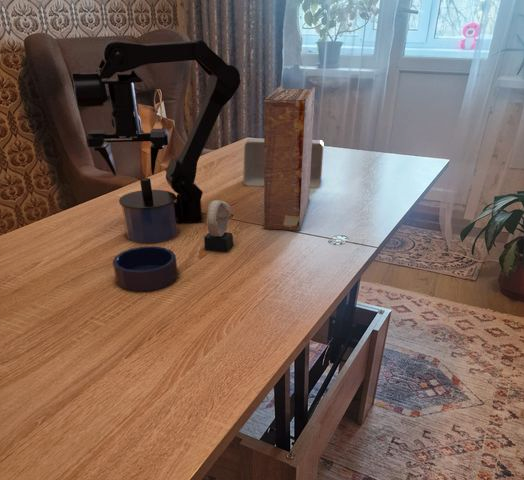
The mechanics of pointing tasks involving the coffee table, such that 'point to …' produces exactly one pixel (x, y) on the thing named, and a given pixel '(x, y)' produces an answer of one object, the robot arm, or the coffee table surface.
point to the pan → (145, 268)
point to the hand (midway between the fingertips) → (134, 174)
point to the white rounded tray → (255, 162)
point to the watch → (218, 227)
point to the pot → (150, 224)
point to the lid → (147, 197)
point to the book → (287, 156)
